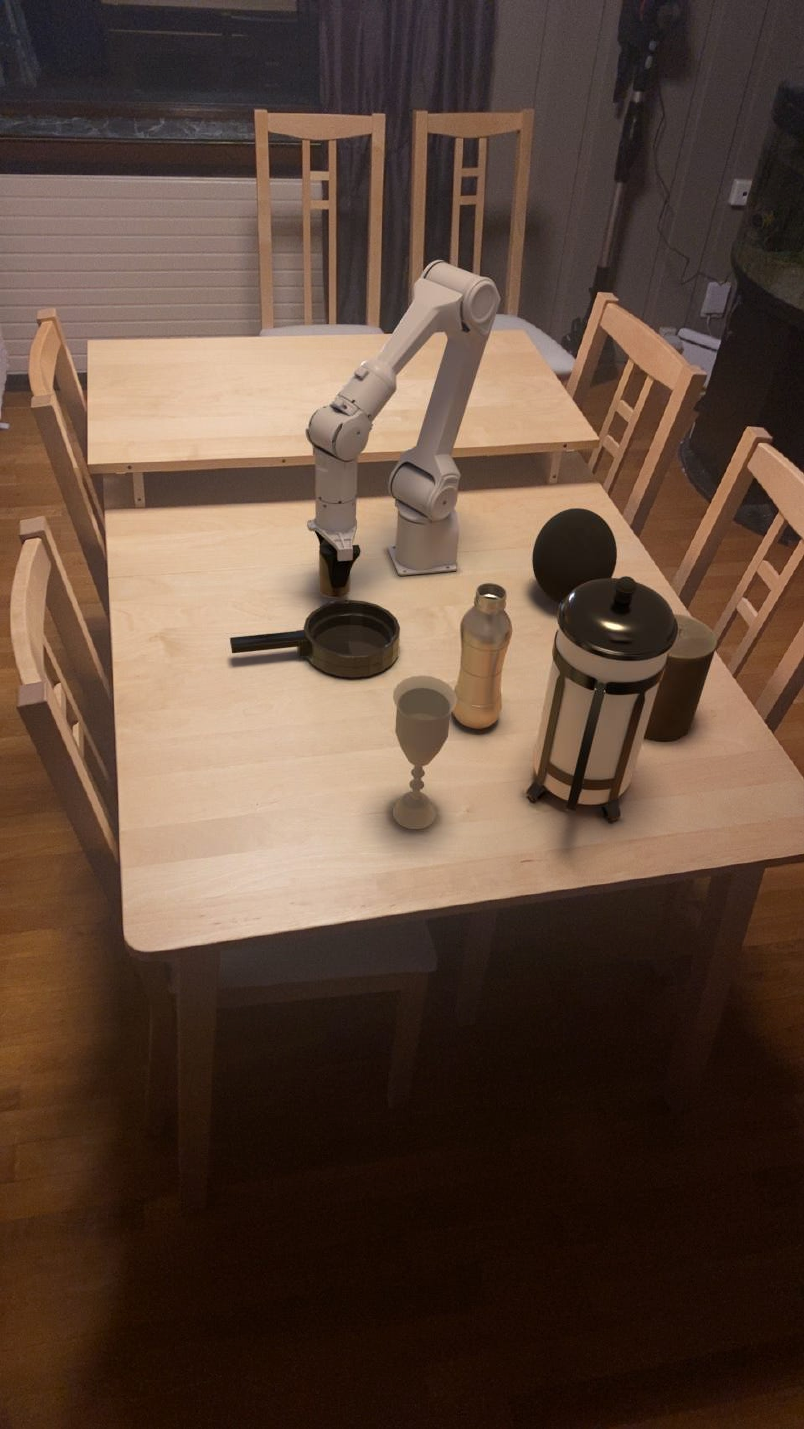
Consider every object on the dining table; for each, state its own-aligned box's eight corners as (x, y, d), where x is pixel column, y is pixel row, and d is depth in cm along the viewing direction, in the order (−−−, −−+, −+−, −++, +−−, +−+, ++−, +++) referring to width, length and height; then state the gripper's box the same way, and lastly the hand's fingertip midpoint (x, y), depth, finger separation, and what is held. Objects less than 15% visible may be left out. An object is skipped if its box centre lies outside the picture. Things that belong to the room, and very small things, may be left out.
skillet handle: (306, 645, 140) (306, 629, 138) (309, 656, 138) (309, 640, 136) (230, 653, 138) (229, 636, 136) (233, 664, 136) (231, 648, 134)
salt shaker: (346, 579, 151) (347, 534, 145) (352, 596, 147) (354, 551, 142) (316, 581, 150) (316, 536, 144) (322, 599, 146) (322, 553, 141)
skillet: (386, 618, 147) (387, 596, 144) (408, 674, 137) (409, 651, 135) (297, 627, 144) (297, 604, 142) (313, 685, 135) (313, 661, 132)
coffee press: (490, 758, 126) (521, 554, 106) (598, 730, 131) (648, 530, 111) (558, 858, 114) (608, 649, 94) (674, 822, 119) (745, 617, 99)
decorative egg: (622, 612, 151) (643, 526, 142) (553, 630, 147) (570, 542, 137) (577, 570, 160) (594, 486, 150) (510, 586, 155) (524, 500, 145)
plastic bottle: (466, 741, 128) (482, 613, 115) (440, 709, 132) (453, 582, 119) (508, 727, 130) (530, 600, 117) (482, 696, 135) (500, 571, 122)
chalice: (383, 791, 120) (390, 675, 108) (439, 790, 121) (452, 675, 109) (387, 837, 115) (395, 720, 103) (446, 835, 116) (460, 719, 104)
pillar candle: (685, 749, 129) (715, 658, 119) (611, 729, 131) (634, 637, 121) (696, 704, 136) (725, 614, 126) (625, 686, 138) (648, 596, 128)
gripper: (298, 470, 142) (299, 552, 151) (316, 522, 132) (316, 607, 141) (347, 467, 144) (345, 548, 153) (368, 518, 134) (365, 602, 142)
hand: (334, 576), depth 147 cm, fingers closed on salt shaker, 4 cm apart
